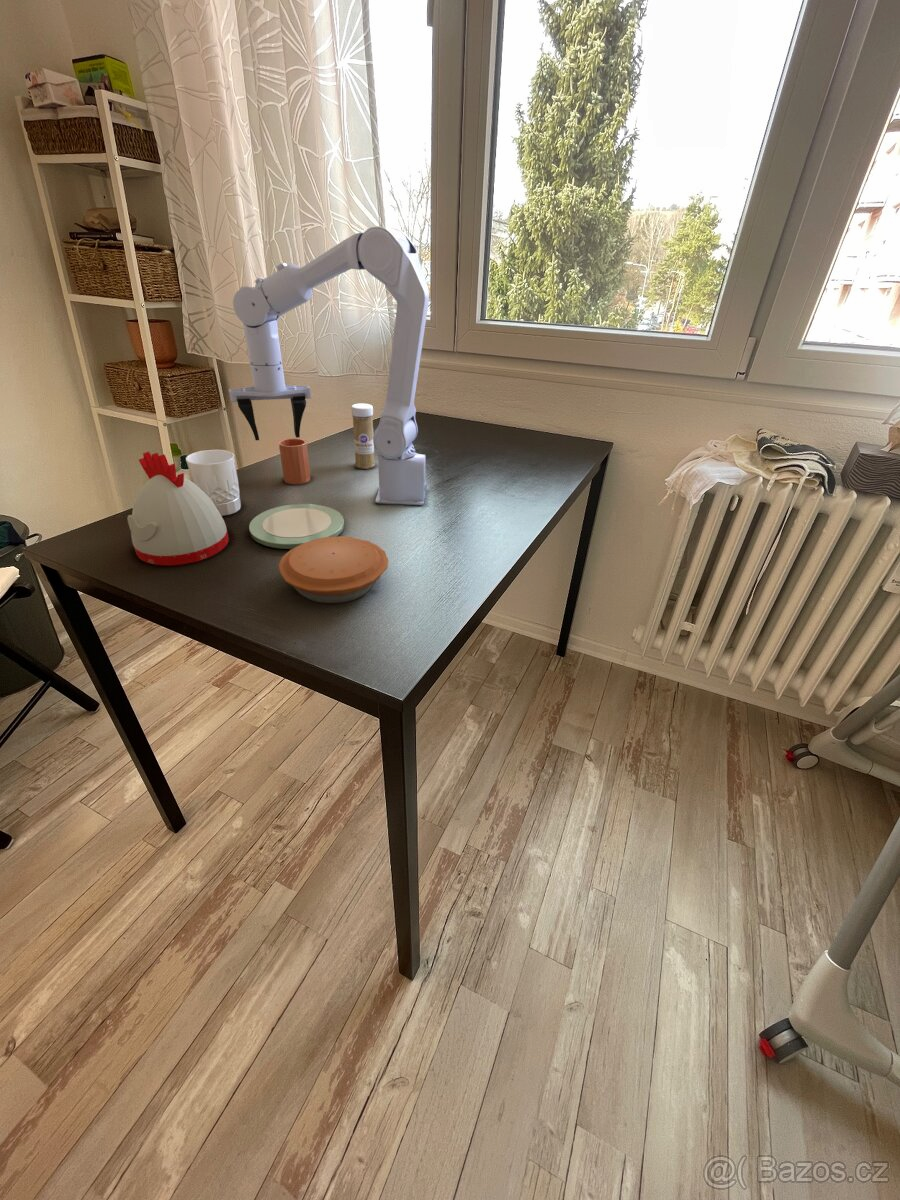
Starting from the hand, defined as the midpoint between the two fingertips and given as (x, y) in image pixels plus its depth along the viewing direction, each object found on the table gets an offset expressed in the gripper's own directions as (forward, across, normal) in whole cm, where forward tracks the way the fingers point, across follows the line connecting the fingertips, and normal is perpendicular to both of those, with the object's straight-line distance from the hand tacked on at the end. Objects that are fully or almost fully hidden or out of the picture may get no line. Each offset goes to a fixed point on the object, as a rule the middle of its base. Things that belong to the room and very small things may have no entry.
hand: (277, 437), depth 101 cm
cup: (+10, -3, -2) cm, 10 cm away
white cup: (+10, +12, +10) cm, 18 cm away
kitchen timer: (+10, +18, +22) cm, 31 cm away
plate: (+10, 0, +22) cm, 24 cm away
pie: (+10, -3, +42) cm, 43 cm away
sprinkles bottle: (+10, -19, -6) cm, 22 cm away
